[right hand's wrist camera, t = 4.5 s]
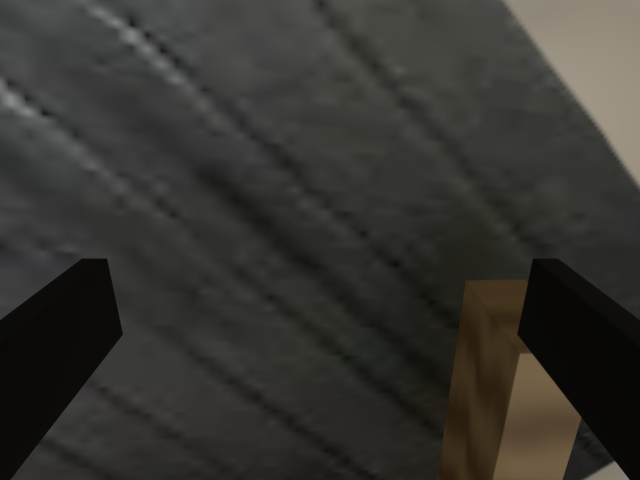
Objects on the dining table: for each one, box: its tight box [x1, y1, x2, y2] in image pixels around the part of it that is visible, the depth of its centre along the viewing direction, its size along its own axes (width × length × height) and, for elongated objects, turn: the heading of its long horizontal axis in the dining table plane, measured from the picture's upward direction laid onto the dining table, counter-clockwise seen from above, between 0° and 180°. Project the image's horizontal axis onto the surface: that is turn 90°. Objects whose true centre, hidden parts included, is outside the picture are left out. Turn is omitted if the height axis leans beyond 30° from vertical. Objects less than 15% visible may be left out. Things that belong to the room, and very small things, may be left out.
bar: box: [437, 280, 581, 480], centre depth 33 cm, size 24×5×9 cm, turn 0°
